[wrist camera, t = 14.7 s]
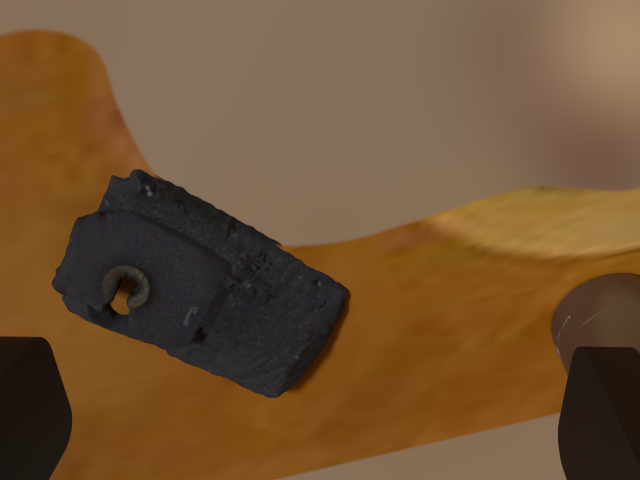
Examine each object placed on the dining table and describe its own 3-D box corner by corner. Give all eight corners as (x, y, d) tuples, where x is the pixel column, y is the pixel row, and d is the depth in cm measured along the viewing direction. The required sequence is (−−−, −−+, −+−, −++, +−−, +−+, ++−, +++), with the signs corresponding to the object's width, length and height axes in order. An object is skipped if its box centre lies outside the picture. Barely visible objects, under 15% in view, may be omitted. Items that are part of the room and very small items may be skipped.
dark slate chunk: (274, 401, 57) (266, 441, 53) (51, 291, 53) (23, 325, 48) (364, 286, 50) (363, 322, 46) (115, 149, 46) (89, 174, 42)
